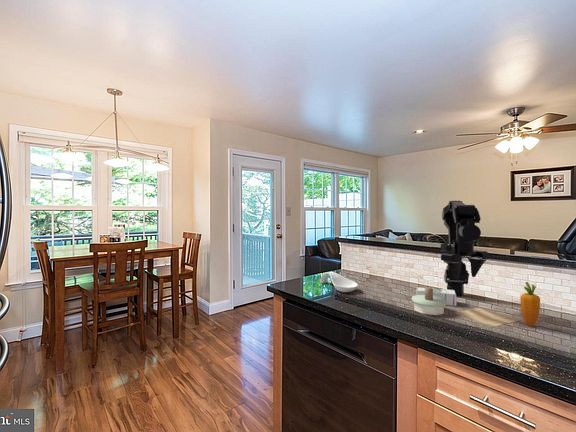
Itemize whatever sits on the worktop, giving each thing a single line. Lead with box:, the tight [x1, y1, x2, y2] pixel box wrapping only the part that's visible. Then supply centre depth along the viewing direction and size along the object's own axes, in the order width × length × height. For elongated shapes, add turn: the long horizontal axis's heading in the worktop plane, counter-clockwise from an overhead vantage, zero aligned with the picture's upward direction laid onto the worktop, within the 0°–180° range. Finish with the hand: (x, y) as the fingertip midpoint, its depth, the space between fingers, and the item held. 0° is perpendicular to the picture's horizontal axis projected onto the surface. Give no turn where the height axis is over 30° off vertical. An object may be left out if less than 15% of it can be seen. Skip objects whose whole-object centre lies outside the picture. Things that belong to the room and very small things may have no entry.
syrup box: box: [415, 286, 458, 307], centre depth 120 cm, size 6×6×14 cm
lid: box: [411, 287, 448, 308], centre depth 111 cm, size 12×12×5 cm
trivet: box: [454, 306, 521, 328], centre depth 104 cm, size 14×14×1 cm
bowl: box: [413, 302, 445, 316], centre depth 111 cm, size 10×10×4 cm
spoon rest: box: [319, 271, 359, 293], centre depth 147 cm, size 24×12×7 cm, turn 31°
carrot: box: [520, 281, 541, 328], centre depth 95 cm, size 5×5×15 cm
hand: (464, 278), depth 112 cm, fingers open, 9 cm apart
